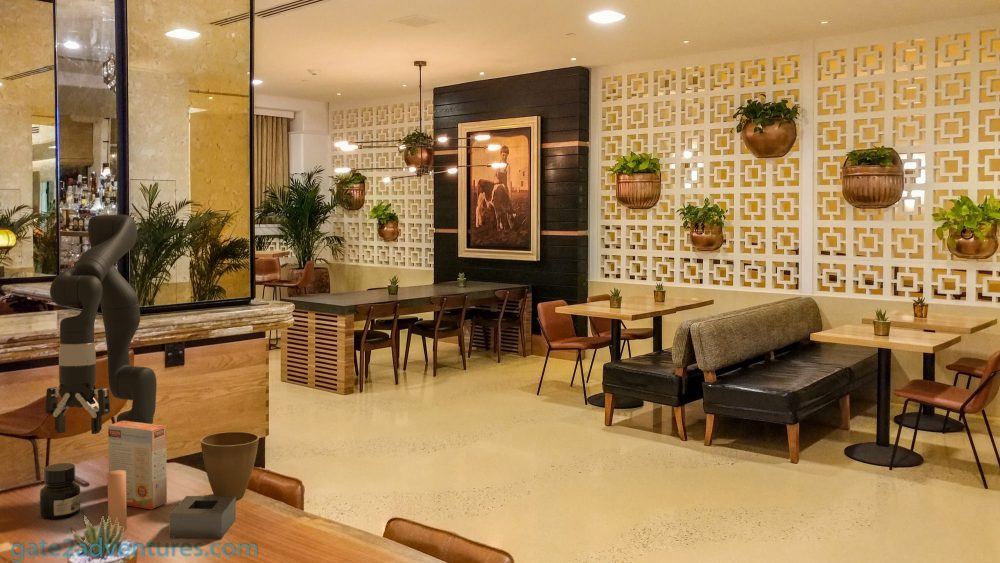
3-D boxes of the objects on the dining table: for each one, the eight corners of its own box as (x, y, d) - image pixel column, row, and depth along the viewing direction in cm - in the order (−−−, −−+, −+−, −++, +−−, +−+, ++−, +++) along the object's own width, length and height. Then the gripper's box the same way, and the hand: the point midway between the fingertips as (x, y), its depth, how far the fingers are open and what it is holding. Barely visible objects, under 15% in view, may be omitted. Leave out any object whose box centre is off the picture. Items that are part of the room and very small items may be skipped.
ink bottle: (62, 522, 202) (61, 474, 201) (30, 519, 204) (29, 471, 203) (89, 508, 211) (88, 462, 210) (59, 505, 213) (58, 459, 212)
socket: (186, 519, 206) (186, 495, 206) (235, 519, 207) (235, 496, 206) (169, 538, 194) (169, 513, 194) (221, 538, 195) (221, 513, 194)
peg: (112, 526, 200) (111, 469, 199) (129, 526, 201) (128, 470, 199) (105, 532, 196) (104, 475, 195) (122, 533, 197) (121, 475, 195)
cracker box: (168, 503, 217) (167, 424, 215) (151, 511, 211) (150, 430, 209) (125, 496, 221) (124, 419, 220) (107, 503, 216) (106, 424, 214)
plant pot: (257, 504, 218) (257, 444, 217) (197, 507, 214) (197, 447, 213) (259, 485, 232) (260, 429, 231) (203, 488, 229) (203, 431, 227)
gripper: (116, 361, 193) (116, 430, 193) (58, 360, 194) (59, 429, 195) (96, 365, 185) (97, 437, 186) (37, 364, 187) (38, 435, 187)
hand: (78, 433), depth 190 cm, fingers open, 8 cm apart
